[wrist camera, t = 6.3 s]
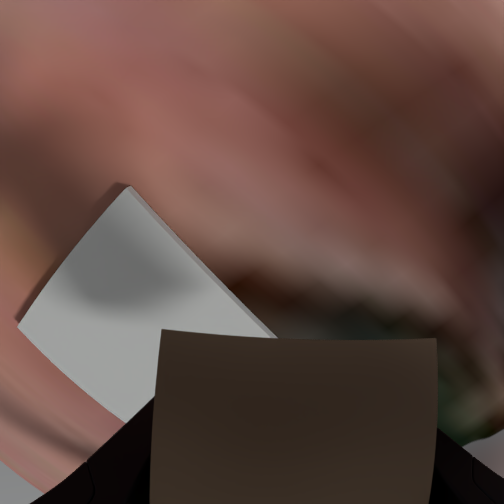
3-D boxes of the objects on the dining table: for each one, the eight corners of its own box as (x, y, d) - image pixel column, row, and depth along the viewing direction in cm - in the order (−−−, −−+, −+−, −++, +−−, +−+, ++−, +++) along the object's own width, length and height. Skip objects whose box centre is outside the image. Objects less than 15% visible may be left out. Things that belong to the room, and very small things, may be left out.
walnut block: (309, 472, 12) (414, 565, 3) (201, 469, 12) (152, 579, 3) (315, 373, 14) (436, 338, 5) (208, 368, 14) (161, 328, 5)
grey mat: (157, 437, 26) (155, 443, 25) (22, 322, 21) (17, 326, 21) (298, 358, 22) (300, 365, 21) (130, 185, 18) (125, 188, 17)
